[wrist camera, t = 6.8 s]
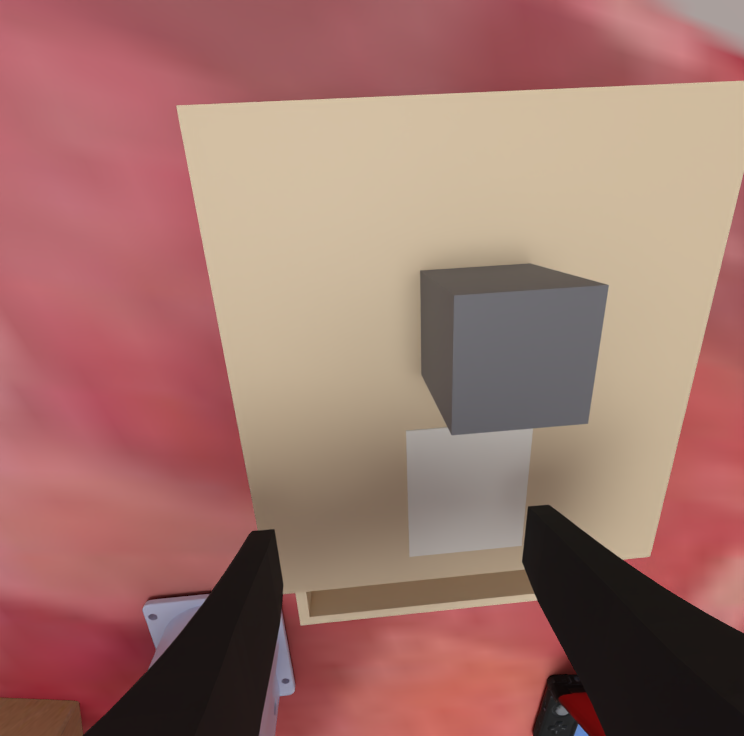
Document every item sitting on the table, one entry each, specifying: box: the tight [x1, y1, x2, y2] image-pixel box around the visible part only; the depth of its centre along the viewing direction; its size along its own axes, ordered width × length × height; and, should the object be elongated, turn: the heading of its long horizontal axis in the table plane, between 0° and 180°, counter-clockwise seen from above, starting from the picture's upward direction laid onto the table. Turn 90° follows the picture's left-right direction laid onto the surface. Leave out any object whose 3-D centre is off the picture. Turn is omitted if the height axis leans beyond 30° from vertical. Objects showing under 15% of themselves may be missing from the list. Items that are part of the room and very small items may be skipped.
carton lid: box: [176, 81, 744, 594], centre depth 11 cm, size 15×14×4 cm
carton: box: [296, 570, 537, 625], centre depth 20 cm, size 15×14×4 cm
